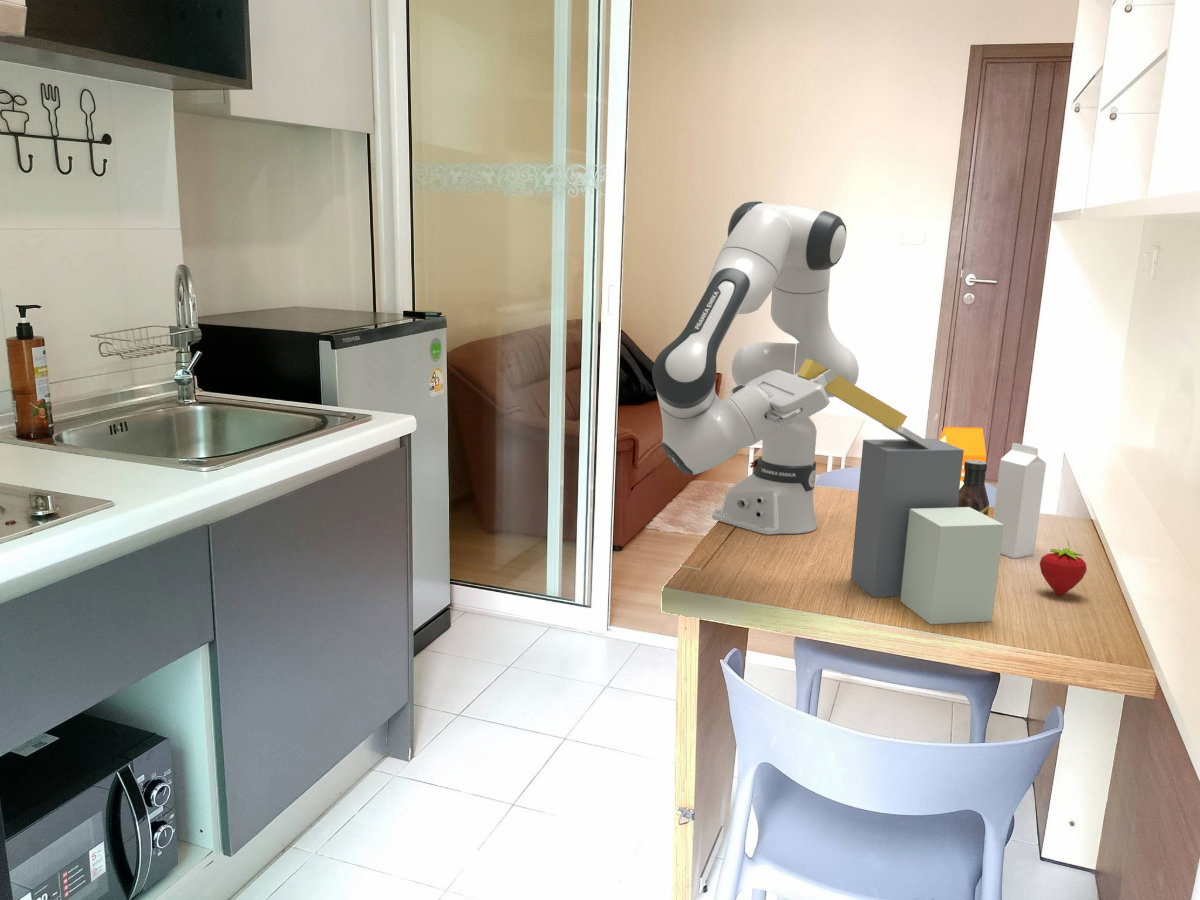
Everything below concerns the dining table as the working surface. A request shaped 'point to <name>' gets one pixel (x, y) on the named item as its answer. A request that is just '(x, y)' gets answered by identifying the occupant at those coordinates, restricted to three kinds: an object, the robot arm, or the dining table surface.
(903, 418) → the plate
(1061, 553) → the strawberry
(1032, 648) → the dining table surface
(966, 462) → the sauce bottle
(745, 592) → the dining table surface
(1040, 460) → the milk
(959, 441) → the orange juice
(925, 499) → the tall stand
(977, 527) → the sage green upright block
